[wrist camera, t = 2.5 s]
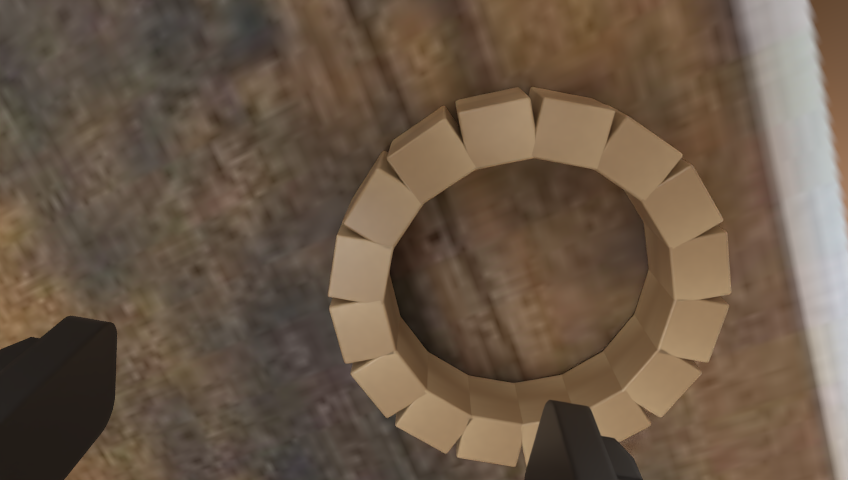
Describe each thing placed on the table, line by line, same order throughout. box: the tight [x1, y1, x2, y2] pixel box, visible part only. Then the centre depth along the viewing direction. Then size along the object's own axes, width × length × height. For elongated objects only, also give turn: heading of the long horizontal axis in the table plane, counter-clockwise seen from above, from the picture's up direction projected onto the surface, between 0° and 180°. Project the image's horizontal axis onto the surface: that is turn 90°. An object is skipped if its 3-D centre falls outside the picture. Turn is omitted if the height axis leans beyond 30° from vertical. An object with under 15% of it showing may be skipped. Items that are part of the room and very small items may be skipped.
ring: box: [328, 87, 731, 467], centre depth 20 cm, size 11×11×2 cm
